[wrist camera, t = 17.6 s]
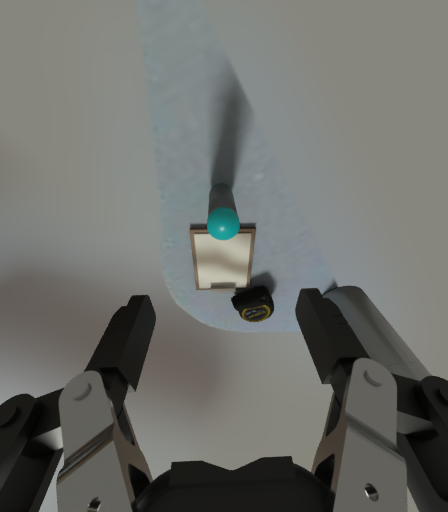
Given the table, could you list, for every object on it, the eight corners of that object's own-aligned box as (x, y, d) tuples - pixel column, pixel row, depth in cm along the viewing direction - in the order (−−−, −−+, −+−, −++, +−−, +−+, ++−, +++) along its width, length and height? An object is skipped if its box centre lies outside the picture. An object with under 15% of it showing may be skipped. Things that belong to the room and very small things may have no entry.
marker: (237, 191, 26) (246, 224, 19) (221, 208, 27) (224, 245, 20) (219, 175, 25) (222, 204, 17) (204, 194, 26) (200, 228, 19)
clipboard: (248, 286, 37) (249, 292, 35) (196, 287, 36) (196, 294, 35) (255, 227, 29) (256, 232, 28) (190, 228, 29) (188, 233, 28)
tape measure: (264, 279, 36) (269, 295, 33) (274, 301, 40) (279, 317, 37) (230, 291, 38) (231, 307, 35) (243, 311, 41) (245, 327, 38)
